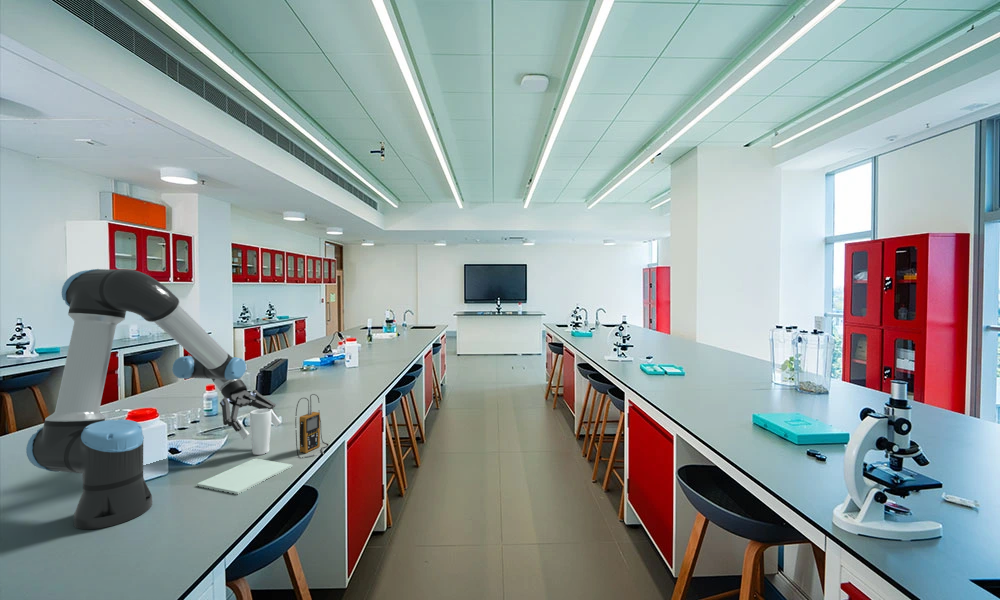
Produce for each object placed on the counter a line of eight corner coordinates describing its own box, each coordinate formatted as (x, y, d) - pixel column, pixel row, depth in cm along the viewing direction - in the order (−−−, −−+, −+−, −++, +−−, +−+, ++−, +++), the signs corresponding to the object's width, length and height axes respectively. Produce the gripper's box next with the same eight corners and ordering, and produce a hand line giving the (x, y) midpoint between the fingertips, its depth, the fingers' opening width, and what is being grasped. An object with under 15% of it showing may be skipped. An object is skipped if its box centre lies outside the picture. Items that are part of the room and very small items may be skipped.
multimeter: (314, 460, 146) (313, 402, 145) (291, 456, 149) (290, 400, 148) (343, 445, 159) (342, 392, 159) (321, 442, 163) (321, 390, 162)
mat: (237, 494, 121) (237, 491, 121) (197, 486, 126) (197, 483, 126) (292, 467, 140) (292, 464, 140) (255, 460, 145) (255, 458, 145)
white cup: (275, 449, 155) (275, 408, 155) (263, 456, 148) (263, 414, 148) (258, 448, 156) (258, 408, 156) (245, 455, 149) (245, 413, 149)
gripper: (254, 384, 169) (284, 426, 165) (192, 400, 146) (225, 449, 142) (264, 372, 168) (295, 414, 163) (203, 386, 144) (237, 435, 140)
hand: (263, 430), depth 152 cm, fingers open, 13 cm apart
